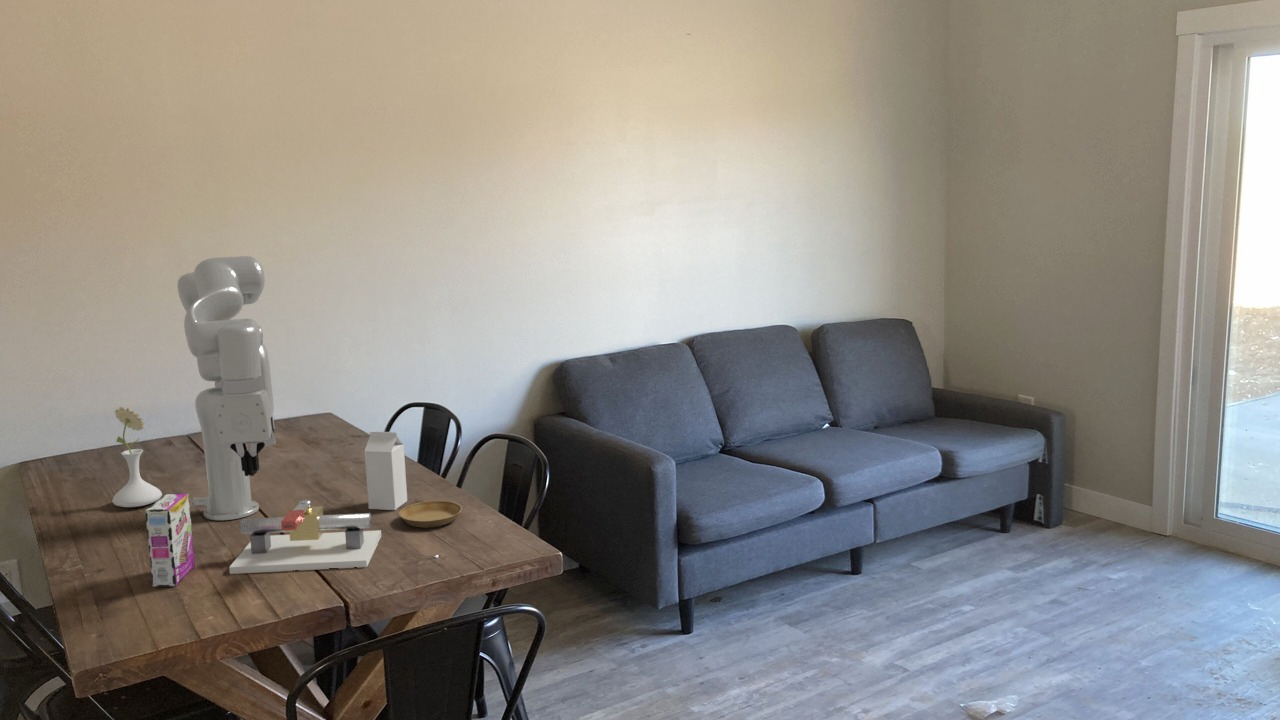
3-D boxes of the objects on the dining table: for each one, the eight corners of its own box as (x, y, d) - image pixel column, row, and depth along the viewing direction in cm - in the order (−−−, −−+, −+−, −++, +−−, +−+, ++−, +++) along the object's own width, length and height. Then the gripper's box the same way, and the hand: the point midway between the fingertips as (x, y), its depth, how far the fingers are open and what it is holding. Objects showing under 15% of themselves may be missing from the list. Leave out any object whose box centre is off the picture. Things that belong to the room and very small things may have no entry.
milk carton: (395, 510, 243) (390, 436, 240) (368, 509, 245) (363, 435, 241) (407, 501, 250) (402, 428, 247) (381, 500, 251) (376, 427, 248)
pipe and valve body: (240, 555, 212) (236, 515, 210) (248, 546, 217) (245, 507, 216) (369, 549, 214) (366, 509, 212) (373, 540, 220) (371, 501, 218)
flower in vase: (170, 502, 253) (159, 407, 248) (123, 514, 244) (111, 416, 240) (149, 492, 261) (139, 400, 257) (103, 503, 253) (91, 408, 249)
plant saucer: (408, 510, 244) (408, 500, 244) (468, 510, 244) (467, 500, 243) (391, 531, 230) (391, 521, 229) (455, 531, 229) (454, 520, 229)
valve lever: (281, 530, 201) (280, 521, 200) (299, 506, 215) (299, 498, 215) (295, 529, 201) (295, 521, 201) (313, 505, 215) (312, 498, 215)
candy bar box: (177, 587, 200) (169, 509, 197) (152, 588, 200) (143, 510, 196) (197, 565, 211) (189, 492, 208) (173, 567, 210) (164, 493, 207)
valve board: (229, 573, 206) (229, 567, 206) (255, 542, 224) (254, 536, 223) (366, 567, 208) (366, 560, 208) (381, 536, 226) (380, 530, 226)
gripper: (197, 391, 194) (207, 481, 197) (275, 388, 195) (283, 477, 198) (210, 383, 201) (219, 470, 204) (285, 380, 202) (293, 467, 206)
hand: (251, 473), depth 201 cm, fingers closed
